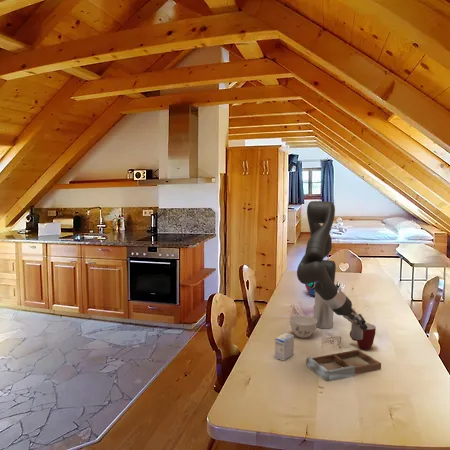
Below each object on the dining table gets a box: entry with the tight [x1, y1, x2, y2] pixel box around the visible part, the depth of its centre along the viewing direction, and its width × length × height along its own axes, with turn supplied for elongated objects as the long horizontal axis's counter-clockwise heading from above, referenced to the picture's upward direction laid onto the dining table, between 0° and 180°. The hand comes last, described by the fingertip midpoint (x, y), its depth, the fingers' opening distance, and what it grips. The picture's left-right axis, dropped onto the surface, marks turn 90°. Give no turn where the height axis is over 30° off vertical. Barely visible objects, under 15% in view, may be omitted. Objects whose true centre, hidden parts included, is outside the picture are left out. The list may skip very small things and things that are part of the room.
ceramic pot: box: [304, 282, 316, 297], centre depth 244 cm, size 18×18×15 cm
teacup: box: [289, 314, 317, 339], centre depth 181 cm, size 15×12×8 cm
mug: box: [349, 322, 376, 351], centre depth 167 cm, size 10×8×10 cm
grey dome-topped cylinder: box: [350, 318, 363, 340], centre depth 150 cm, size 4×4×8 cm
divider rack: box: [305, 349, 382, 382], centre depth 149 cm, size 14×25×4 cm, turn 111°
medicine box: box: [274, 332, 295, 362], centre depth 158 cm, size 8×4×9 cm, turn 141°
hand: (361, 326), depth 151 cm, fingers closed on grey dome-topped cylinder, 4 cm apart
